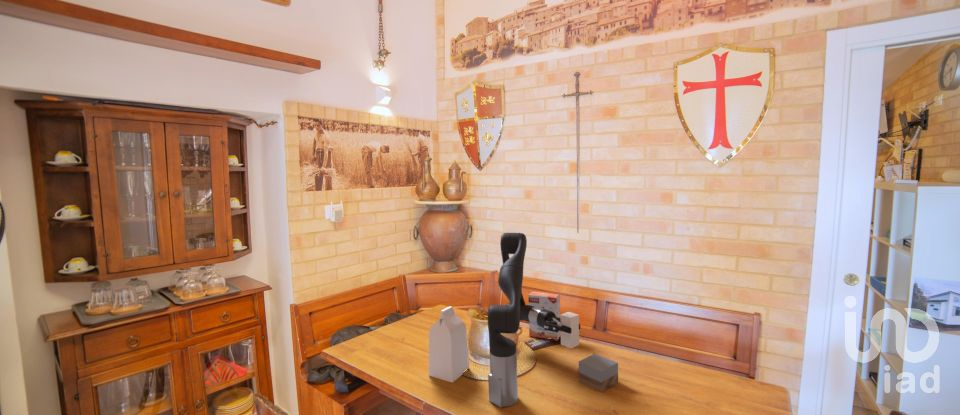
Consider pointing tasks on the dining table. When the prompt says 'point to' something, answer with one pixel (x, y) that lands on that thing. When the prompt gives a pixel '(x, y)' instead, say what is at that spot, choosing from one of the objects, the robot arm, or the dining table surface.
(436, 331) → the milk
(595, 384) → the tower base
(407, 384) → the dining table surface
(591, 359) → the tower top
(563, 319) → the cream block
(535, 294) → the cracker box
